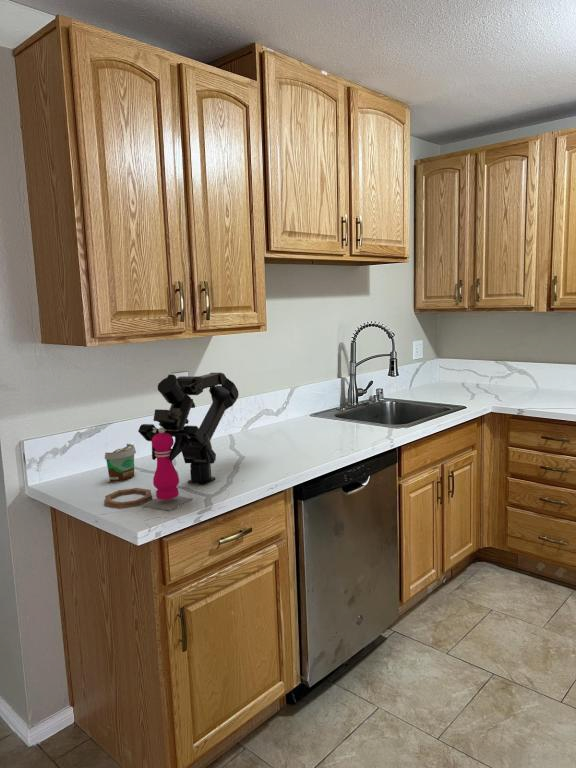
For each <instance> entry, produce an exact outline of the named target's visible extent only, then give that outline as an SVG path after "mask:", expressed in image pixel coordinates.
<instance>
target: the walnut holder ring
mask: <svg viewBox="0 0 576 768" xmlns="http://www.w3.org/2000/svg"><path fill="white" fill-rule="evenodd" d="M134 494H136V495H142V497H141V498H137V499H135V500H128V501H127V500H126V501H116V500H114V499H116V498H118V497H121V496H126V495H127V496H128V495H134ZM104 497H105V498H104V503H105V506H106V507H111V508H117V509H124V508H133V507H138V506H142V505H144V504H146V503H148V502H150V501H152V500H153V495H152V490H151V489H146V488H141V487H133V488H127V489H119V490H116V491H114V492H112V493H109V494H107V495H105V496H104Z"/></svg>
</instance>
